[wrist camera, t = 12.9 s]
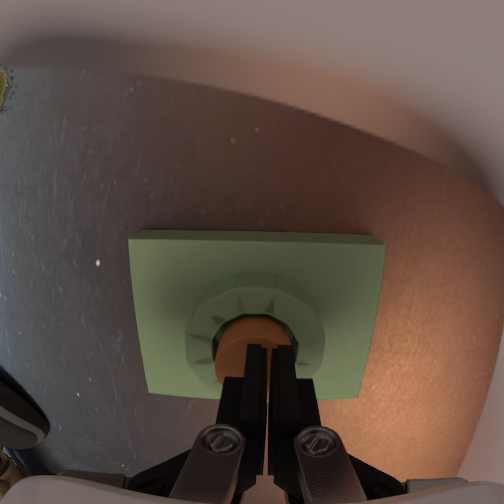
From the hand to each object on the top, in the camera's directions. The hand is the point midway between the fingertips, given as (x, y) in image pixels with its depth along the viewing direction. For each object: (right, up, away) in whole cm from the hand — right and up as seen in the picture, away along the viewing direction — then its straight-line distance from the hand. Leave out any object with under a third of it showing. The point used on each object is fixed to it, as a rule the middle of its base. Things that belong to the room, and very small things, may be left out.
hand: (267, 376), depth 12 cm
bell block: (0, +1, +6) cm, 6 cm away
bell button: (0, 0, +2) cm, 3 cm away
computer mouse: (-24, -8, +8) cm, 26 cm away
